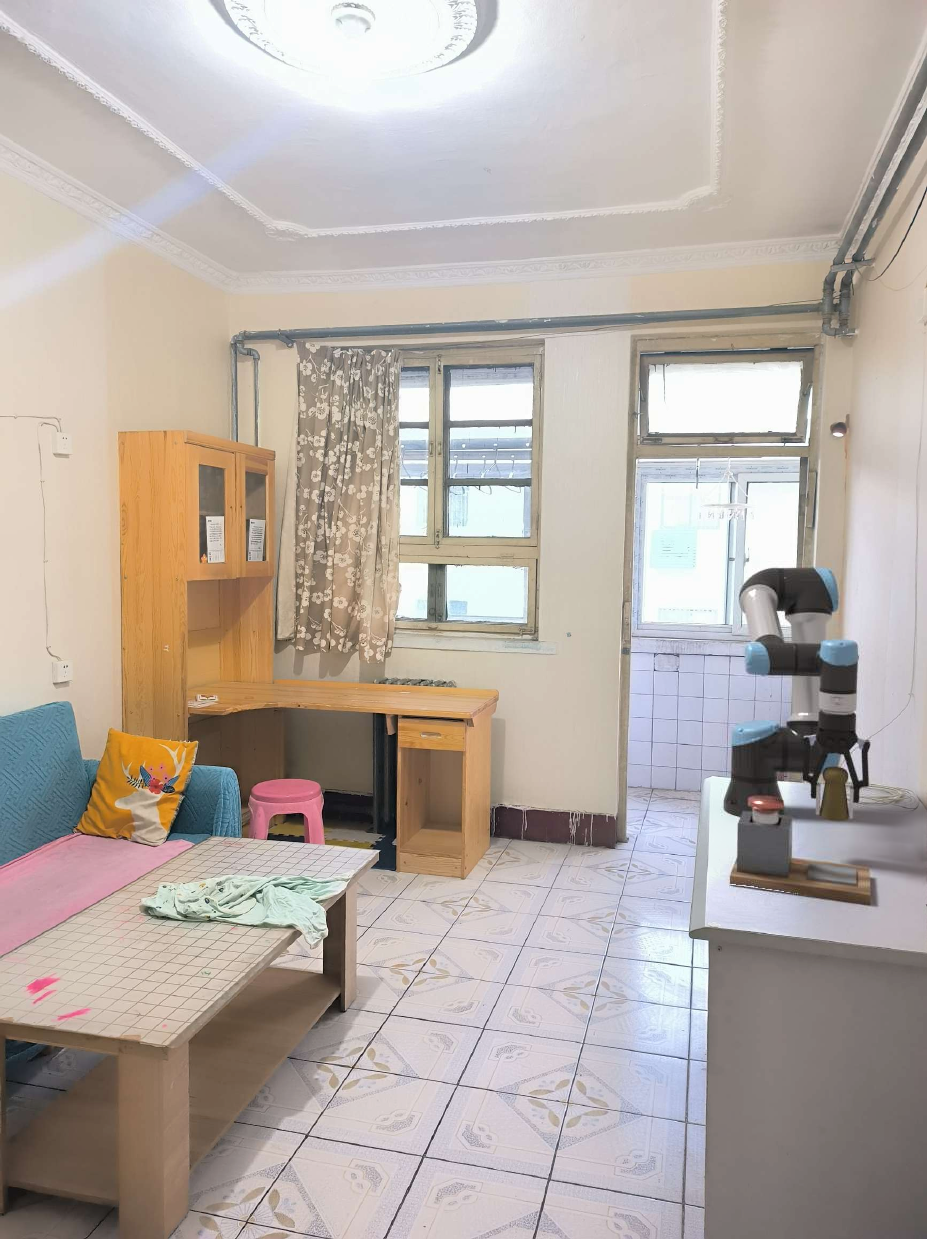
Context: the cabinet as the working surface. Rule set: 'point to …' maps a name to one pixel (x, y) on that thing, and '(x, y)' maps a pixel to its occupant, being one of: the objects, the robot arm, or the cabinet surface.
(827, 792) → the olive knobbed peg
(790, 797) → the cabinet surface
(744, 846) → the grey push button box
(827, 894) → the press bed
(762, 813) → the press plunger
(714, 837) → the cabinet surface
